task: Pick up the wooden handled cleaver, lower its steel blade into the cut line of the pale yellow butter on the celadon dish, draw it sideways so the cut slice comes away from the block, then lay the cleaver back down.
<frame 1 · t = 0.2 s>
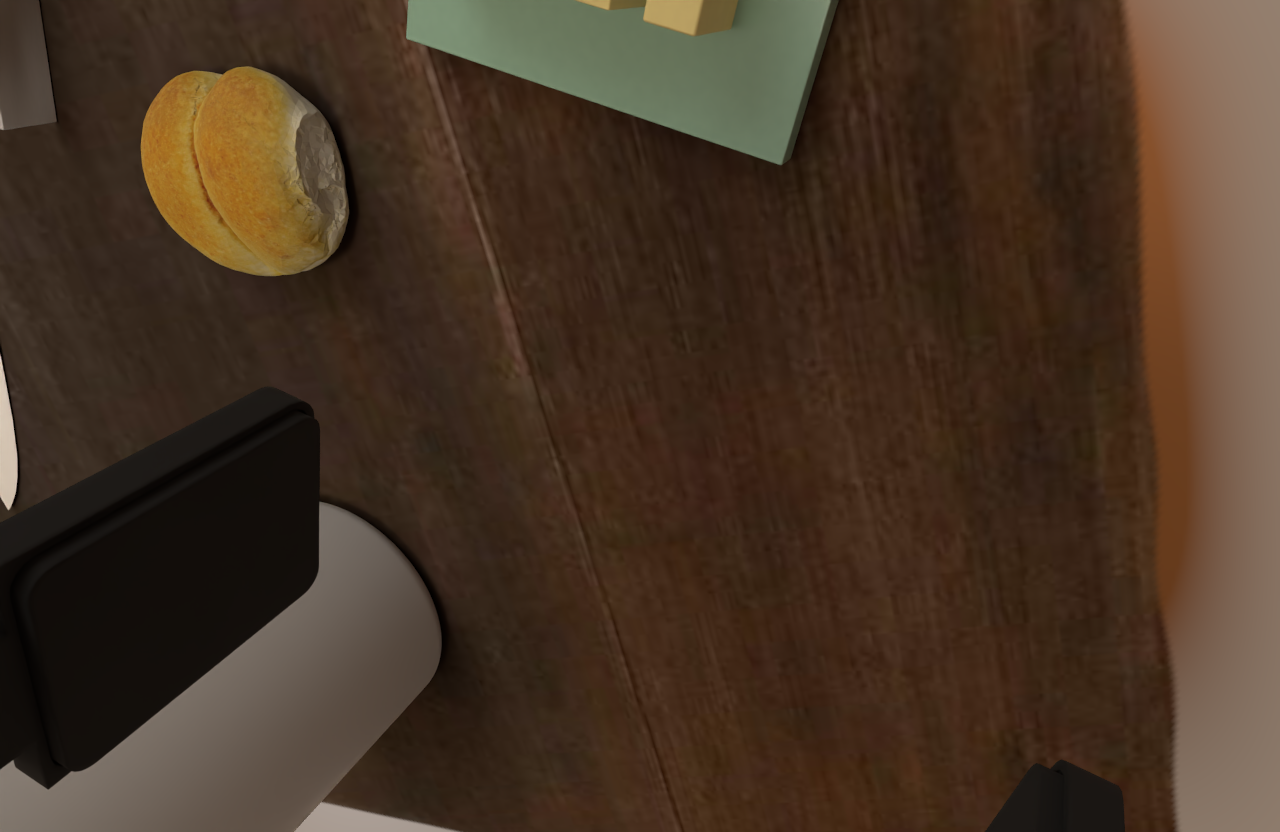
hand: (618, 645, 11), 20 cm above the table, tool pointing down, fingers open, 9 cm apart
cylinder vase: (354, 592, 47), on the table
bread roll: (275, 166, 37), on the table
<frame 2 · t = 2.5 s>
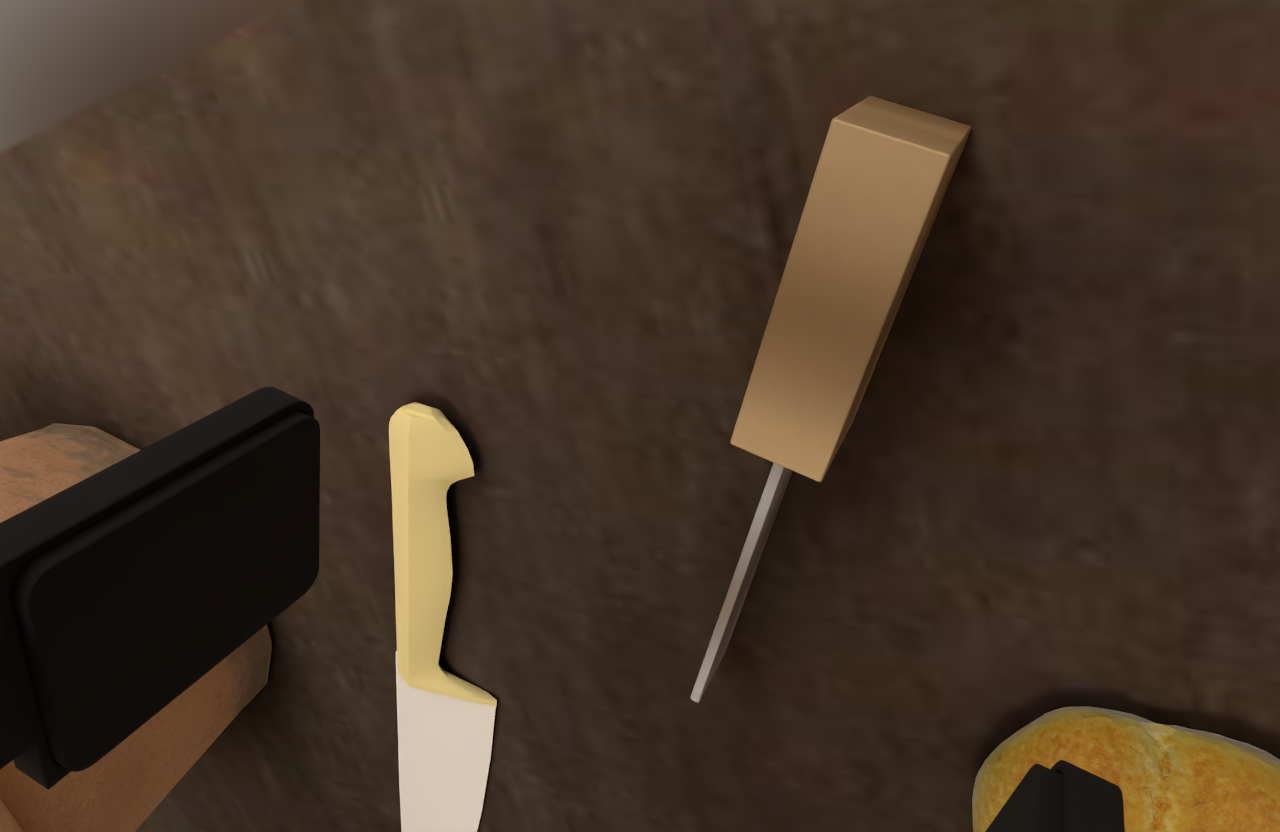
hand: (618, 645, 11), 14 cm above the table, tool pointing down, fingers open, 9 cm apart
wooden handled cleaver: (860, 271, 22), on the table
bread roll: (1153, 804, 25), on the table
pottery: (149, 568, 44), on the table
knife: (449, 727, 39), on the table
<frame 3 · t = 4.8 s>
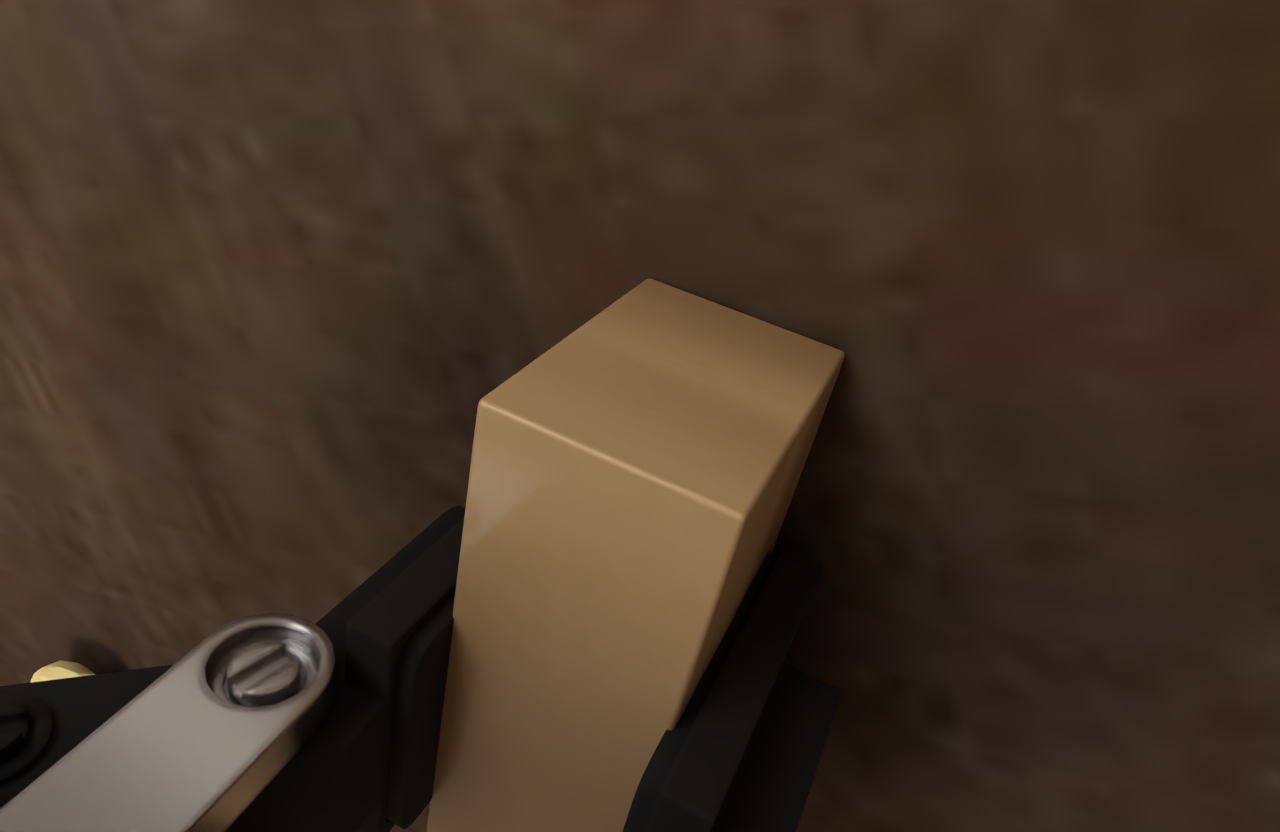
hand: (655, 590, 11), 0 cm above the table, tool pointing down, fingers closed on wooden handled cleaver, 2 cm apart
wooden handled cleaver: (667, 575, 12), on the table, touching gripper
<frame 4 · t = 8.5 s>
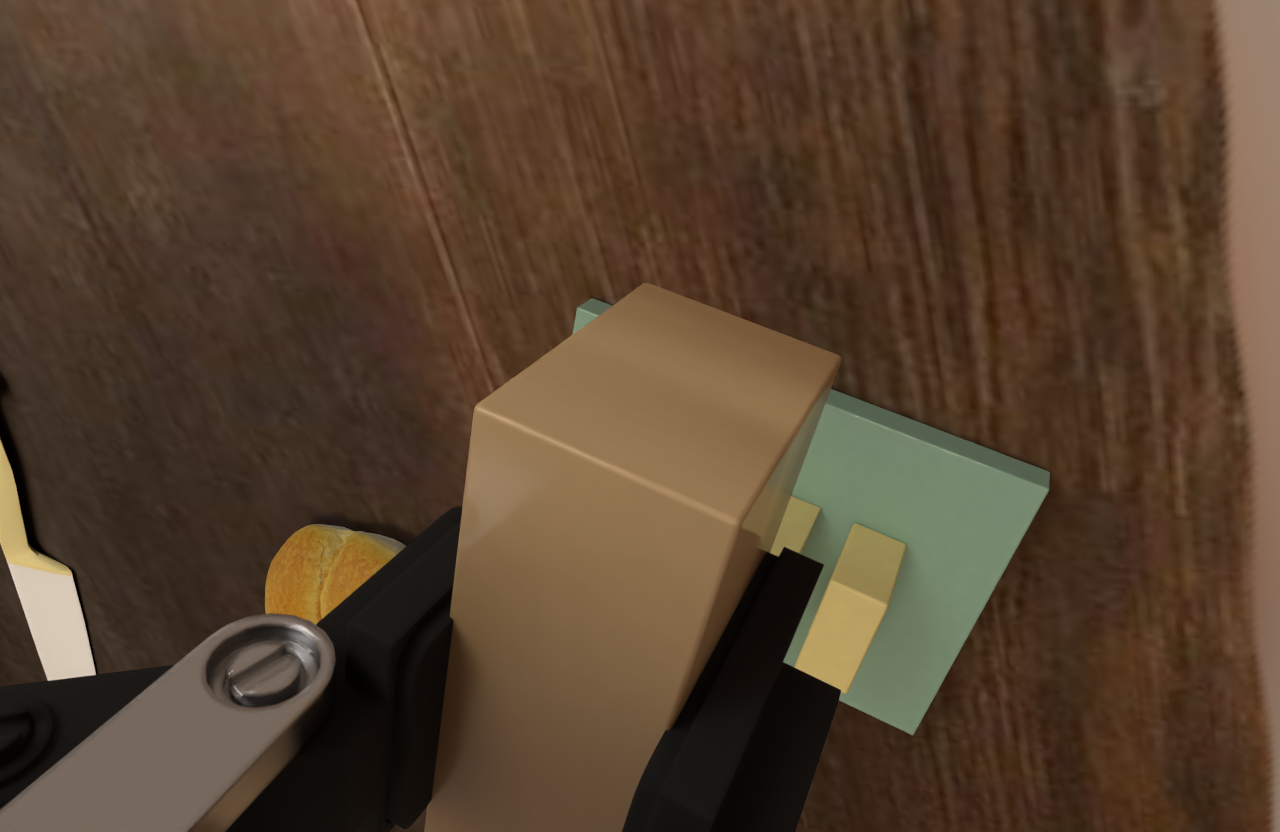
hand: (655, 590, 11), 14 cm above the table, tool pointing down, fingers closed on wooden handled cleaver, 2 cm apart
wooden handled cleaver: (664, 578, 12), point 14 cm above the table, touching gripper
butter slice: (861, 576, 26), point 1 cm above the table, touching butter dish
bread roll: (389, 594, 38), on the table
butter dish: (759, 511, 28), on the table
knife: (59, 600, 51), on the table
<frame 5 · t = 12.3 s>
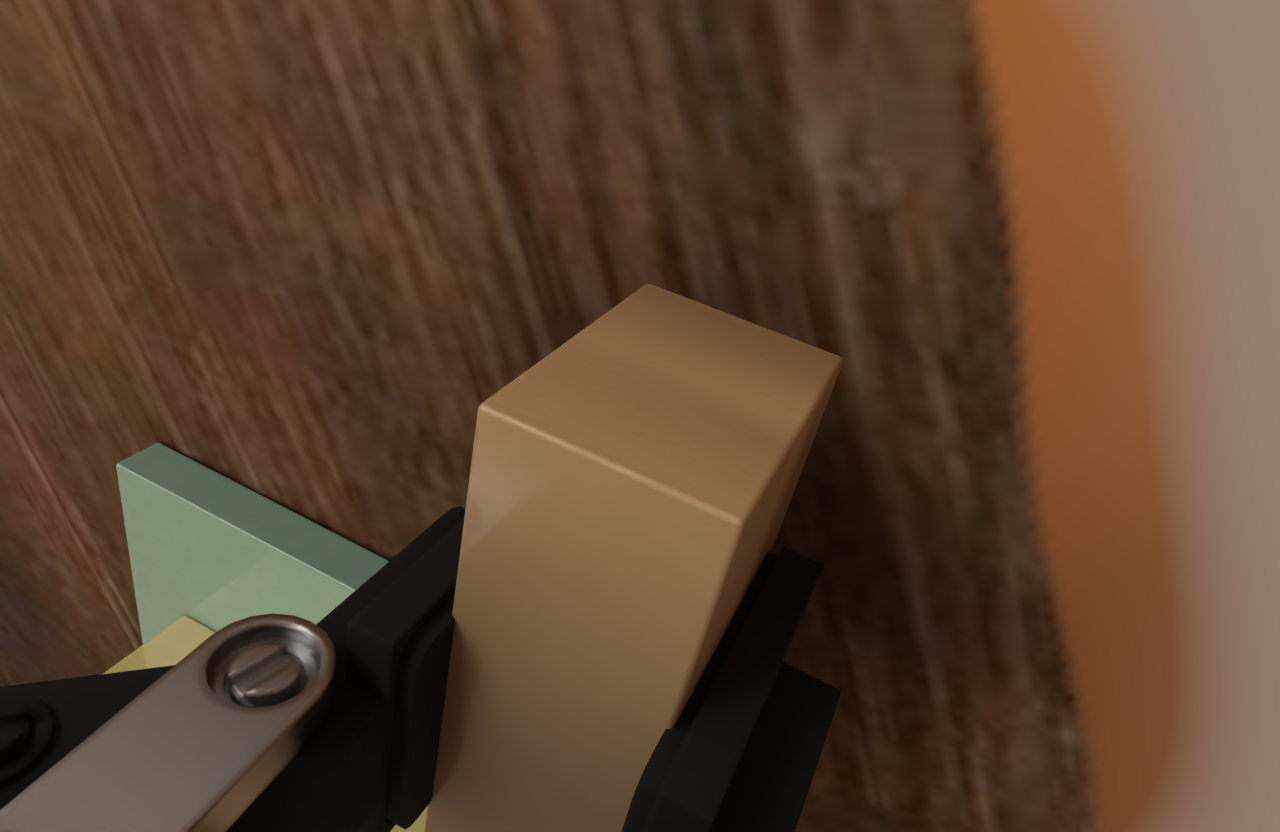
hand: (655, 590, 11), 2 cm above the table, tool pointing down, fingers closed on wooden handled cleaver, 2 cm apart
wooden handled cleaver: (665, 579, 12), point 2 cm above the table, touching butter slice, gripper
butter dish: (422, 753, 19), on the table
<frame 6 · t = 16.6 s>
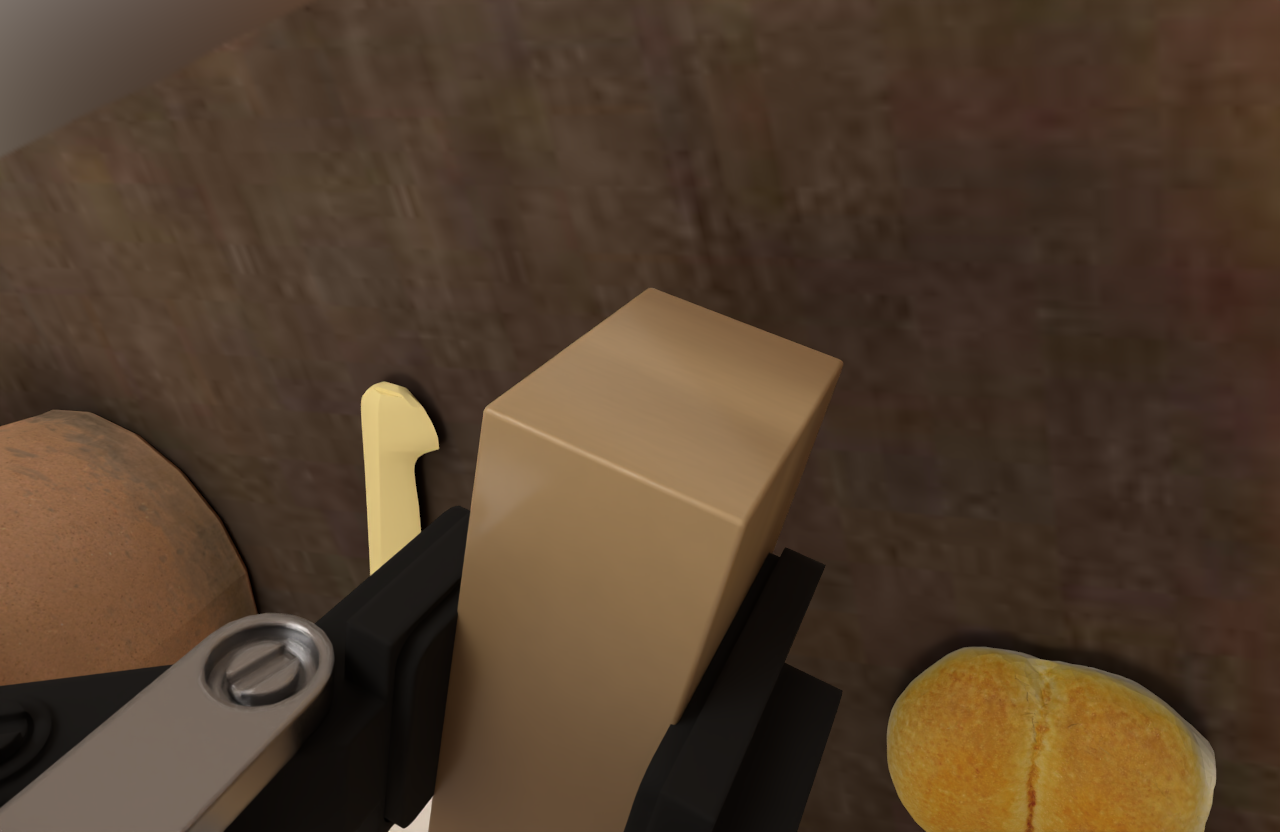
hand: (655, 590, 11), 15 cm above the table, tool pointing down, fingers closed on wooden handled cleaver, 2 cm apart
wooden handled cleaver: (666, 580, 12), point 15 cm above the table, touching gripper
bread roll: (1046, 737, 28), on the table
pottery: (142, 548, 46), on the table
knife: (422, 691, 41), on the table
when the fingers open (0 cm above the table, at t = 20.2 s): wooden handled cleaver stays where it is, on the table.
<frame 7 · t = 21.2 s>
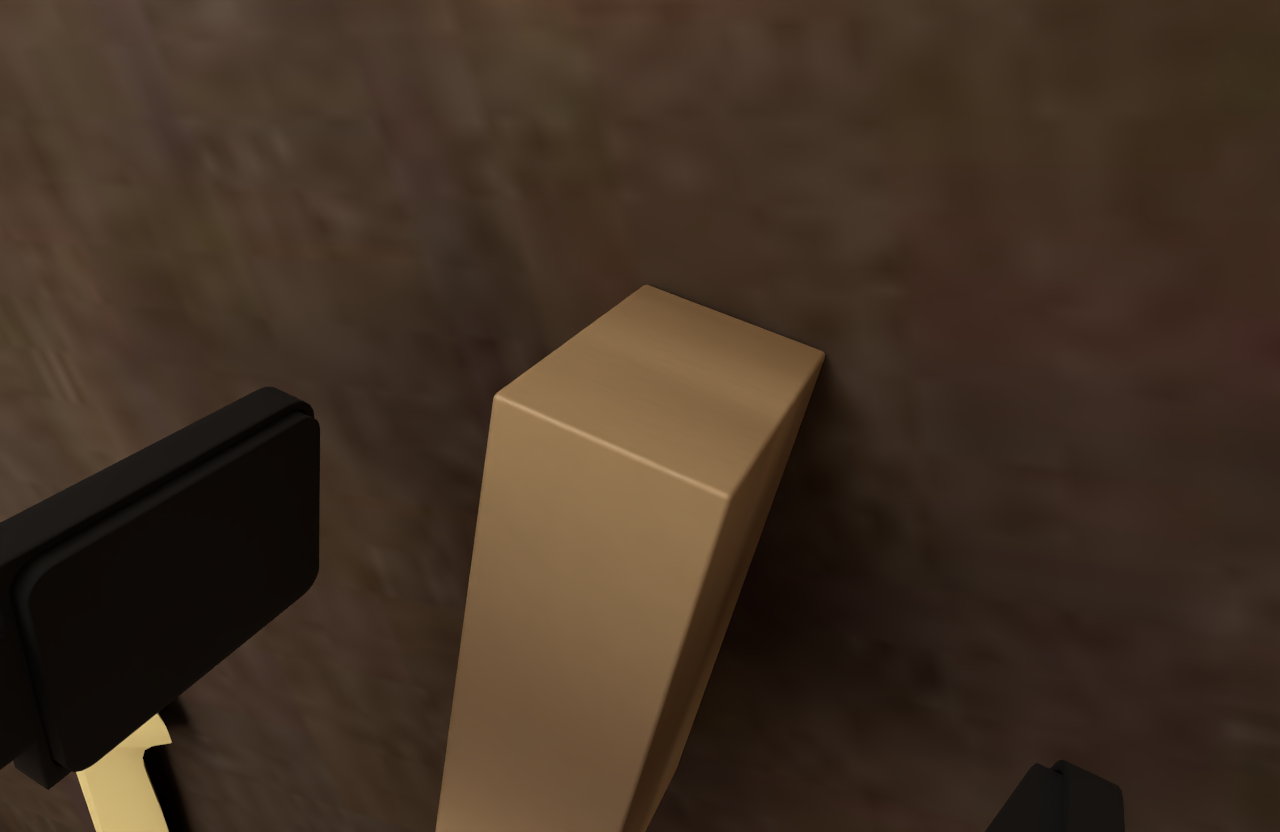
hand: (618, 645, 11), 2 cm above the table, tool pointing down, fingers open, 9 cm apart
wooden handled cleaver: (662, 560, 13), on the table
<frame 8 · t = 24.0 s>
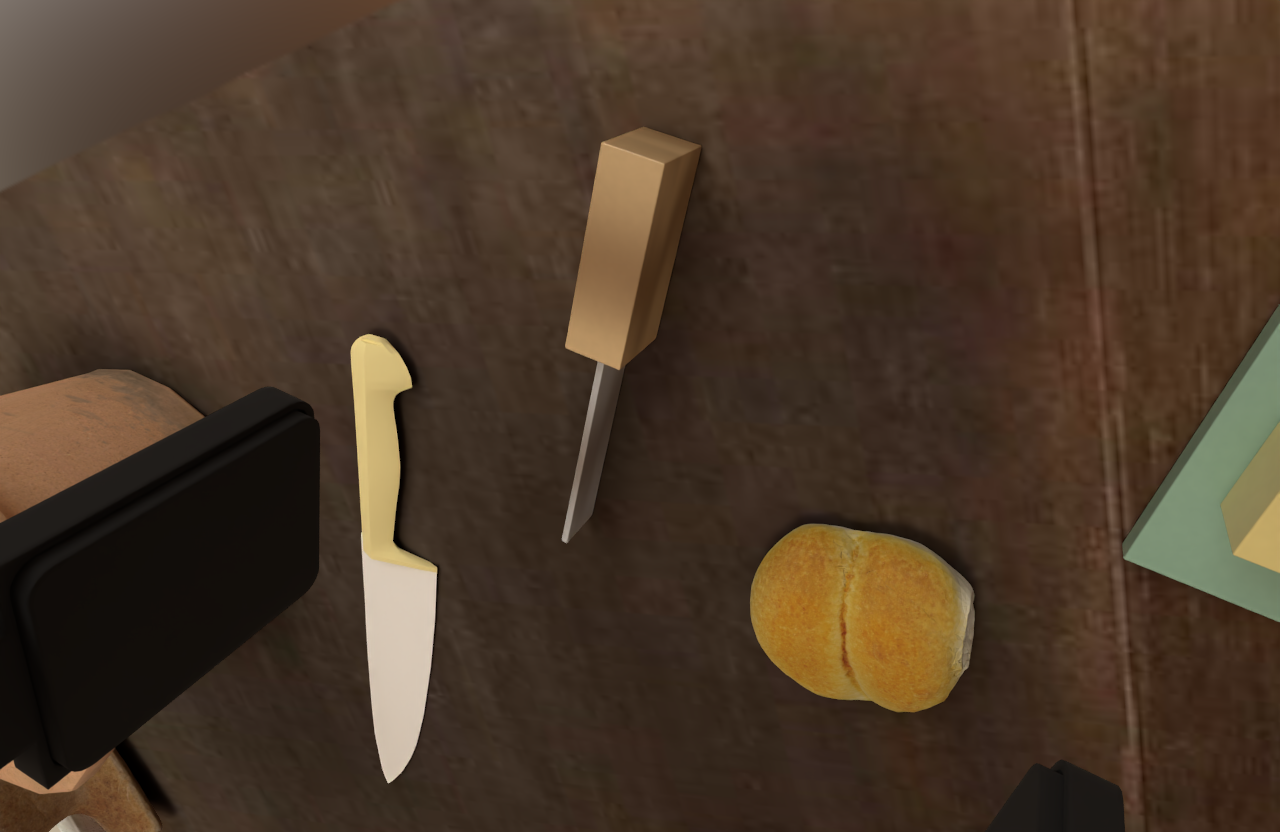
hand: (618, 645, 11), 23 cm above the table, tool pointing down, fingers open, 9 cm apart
wooden handled cleaver: (650, 238, 34), on the table
stone cup: (102, 743, 77), on the table
bread roll: (870, 596, 37), on the table
pottery: (171, 487, 55), on the table
knife: (404, 597, 50), on the table
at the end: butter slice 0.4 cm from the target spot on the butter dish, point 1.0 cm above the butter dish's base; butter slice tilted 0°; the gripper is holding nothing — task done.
